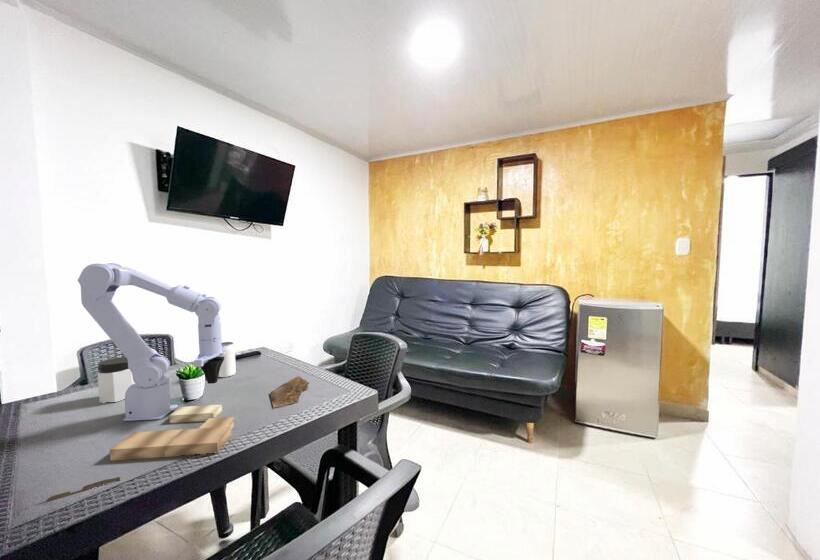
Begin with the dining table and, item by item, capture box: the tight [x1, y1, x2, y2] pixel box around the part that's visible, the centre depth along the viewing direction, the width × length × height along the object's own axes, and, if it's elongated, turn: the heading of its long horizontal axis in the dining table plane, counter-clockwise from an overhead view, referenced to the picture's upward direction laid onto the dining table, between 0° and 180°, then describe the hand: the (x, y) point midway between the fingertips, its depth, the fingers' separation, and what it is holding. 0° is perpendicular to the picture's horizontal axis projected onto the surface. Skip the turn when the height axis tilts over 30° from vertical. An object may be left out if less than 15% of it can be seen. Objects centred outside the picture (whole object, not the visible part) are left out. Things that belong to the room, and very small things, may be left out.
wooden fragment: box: [269, 375, 310, 410], centre depth 106 cm, size 26×11×1 cm, turn 2°
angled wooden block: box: [109, 416, 235, 462], centre depth 76 cm, size 22×12×2 cm, turn 96°
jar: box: [97, 356, 136, 403], centre depth 101 cm, size 9×8×12 cm
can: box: [218, 341, 237, 378], centre depth 121 cm, size 6×6×12 cm
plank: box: [168, 404, 223, 424], centre depth 89 cm, size 11×5×2 cm, turn 97°
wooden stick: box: [33, 476, 121, 507], centre depth 61 cm, size 12×3×1 cm, turn 122°
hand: (212, 382), depth 96 cm, fingers closed
